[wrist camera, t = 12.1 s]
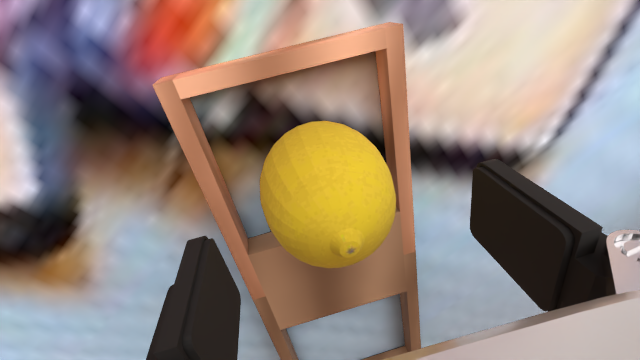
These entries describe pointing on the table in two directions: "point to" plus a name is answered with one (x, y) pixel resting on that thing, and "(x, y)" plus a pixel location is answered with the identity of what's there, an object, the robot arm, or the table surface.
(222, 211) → the wooden frame
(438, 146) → the table surface
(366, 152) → the lemon
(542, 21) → the table surface
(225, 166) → the table surface
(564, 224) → the robot arm
